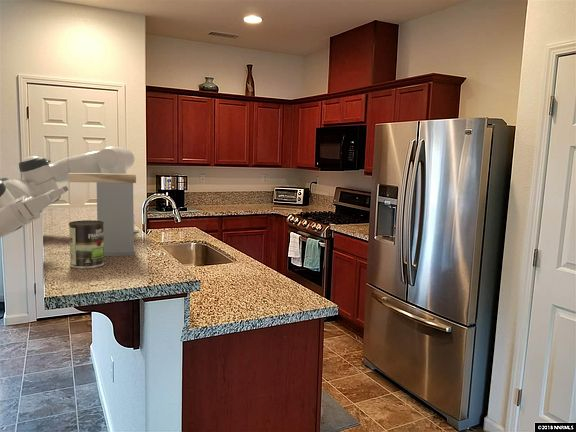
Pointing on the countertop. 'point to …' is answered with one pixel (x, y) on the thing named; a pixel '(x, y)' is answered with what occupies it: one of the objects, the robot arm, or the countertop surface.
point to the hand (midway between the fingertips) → (65, 188)
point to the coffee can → (86, 244)
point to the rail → (102, 178)
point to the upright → (116, 217)
